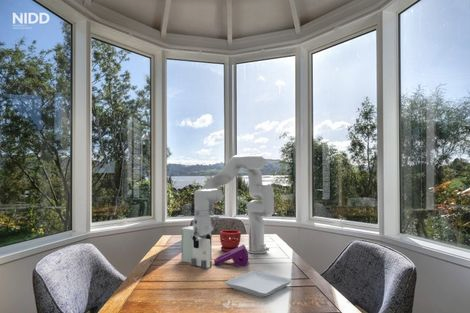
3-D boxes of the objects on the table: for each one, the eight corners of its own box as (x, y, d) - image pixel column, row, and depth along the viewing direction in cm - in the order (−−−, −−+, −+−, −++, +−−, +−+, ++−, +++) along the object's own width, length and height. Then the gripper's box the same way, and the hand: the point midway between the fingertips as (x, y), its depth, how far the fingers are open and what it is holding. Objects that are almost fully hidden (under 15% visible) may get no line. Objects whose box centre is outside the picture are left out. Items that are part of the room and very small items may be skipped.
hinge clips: (211, 266, 163) (211, 258, 163) (204, 269, 159) (204, 261, 159) (198, 263, 169) (198, 256, 169) (191, 266, 164) (191, 258, 164)
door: (210, 266, 162) (210, 239, 162) (205, 268, 159) (205, 240, 160) (195, 263, 168) (195, 237, 168) (191, 265, 165) (191, 238, 166)
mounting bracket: (219, 278, 164) (250, 263, 163) (212, 263, 164) (243, 248, 164) (221, 272, 173) (250, 258, 173) (214, 258, 174) (244, 244, 173)
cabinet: (211, 258, 180) (211, 226, 181) (194, 263, 168) (195, 230, 169) (198, 255, 186) (198, 224, 187) (181, 260, 174) (181, 228, 175)
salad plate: (253, 276, 148) (253, 269, 149) (293, 287, 135) (292, 279, 135) (223, 289, 132) (223, 281, 132) (265, 302, 119) (265, 293, 119)
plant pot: (240, 253, 191) (240, 233, 192) (219, 252, 192) (219, 233, 192) (240, 247, 204) (240, 229, 205) (220, 247, 205) (220, 229, 205)
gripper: (195, 216, 156) (196, 250, 156) (217, 211, 170) (218, 243, 170) (185, 214, 160) (185, 248, 160) (207, 210, 175) (207, 241, 174)
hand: (202, 245), depth 165 cm, fingers open, 9 cm apart
